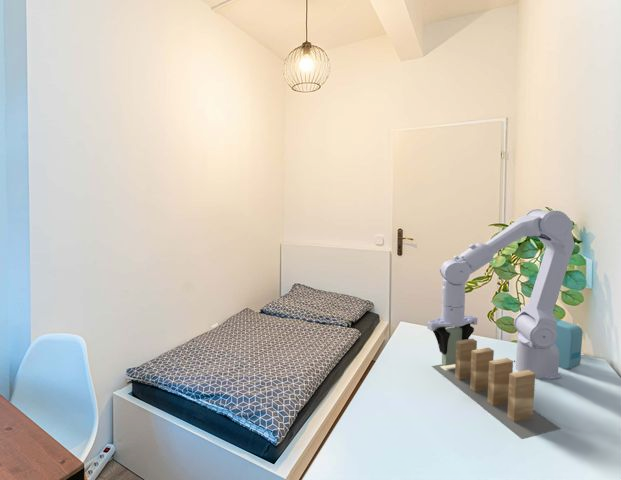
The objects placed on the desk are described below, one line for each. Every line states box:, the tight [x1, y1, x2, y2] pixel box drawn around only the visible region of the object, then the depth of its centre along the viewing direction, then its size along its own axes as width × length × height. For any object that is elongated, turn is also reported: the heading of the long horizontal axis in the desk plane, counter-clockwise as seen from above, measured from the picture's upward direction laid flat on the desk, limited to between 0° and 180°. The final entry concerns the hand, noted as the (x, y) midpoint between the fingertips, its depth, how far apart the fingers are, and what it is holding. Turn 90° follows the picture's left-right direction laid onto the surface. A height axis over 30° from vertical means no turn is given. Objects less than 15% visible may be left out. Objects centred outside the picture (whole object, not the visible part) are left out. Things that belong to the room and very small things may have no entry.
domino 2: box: [470, 347, 495, 392], centre depth 79 cm, size 2×5×10 cm, turn 105°
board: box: [431, 363, 562, 440], centre depth 78 cm, size 10×29×1 cm, turn 14°
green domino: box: [441, 327, 462, 366], centre depth 89 cm, size 2×5×10 cm, turn 104°
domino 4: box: [507, 370, 536, 422], centre depth 68 cm, size 2×5×10 cm, turn 105°
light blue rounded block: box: [554, 318, 583, 370], centre depth 93 cm, size 12×4×12 cm, turn 21°
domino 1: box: [455, 338, 478, 380], centre depth 84 cm, size 2×5×10 cm, turn 104°
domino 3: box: [487, 357, 514, 406], centre depth 74 cm, size 2×5×10 cm, turn 105°
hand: (451, 351), depth 90 cm, fingers closed on green domino, 5 cm apart
